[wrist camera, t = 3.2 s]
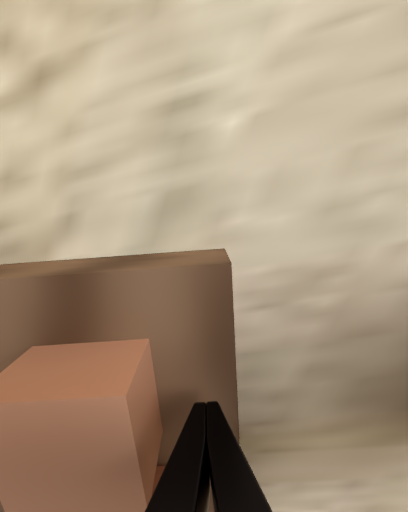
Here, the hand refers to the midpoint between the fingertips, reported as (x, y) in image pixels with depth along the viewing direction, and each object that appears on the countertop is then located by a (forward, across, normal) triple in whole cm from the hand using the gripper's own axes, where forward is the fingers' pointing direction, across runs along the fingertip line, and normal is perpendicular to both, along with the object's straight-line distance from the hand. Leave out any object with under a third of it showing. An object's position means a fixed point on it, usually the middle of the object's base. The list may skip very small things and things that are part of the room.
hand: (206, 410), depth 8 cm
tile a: (+1, +4, 0) cm, 4 cm away
